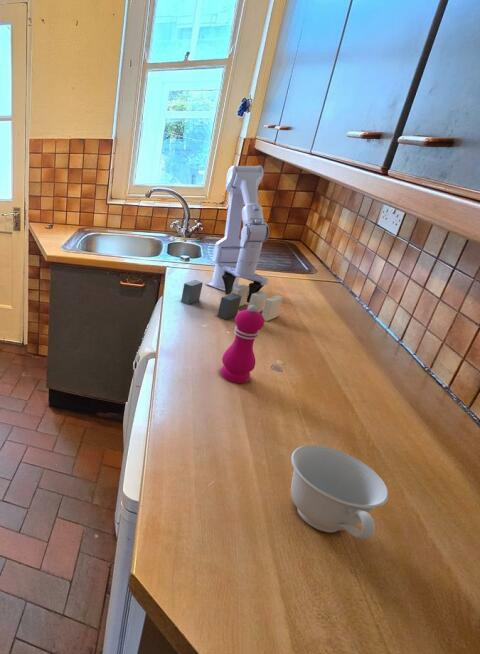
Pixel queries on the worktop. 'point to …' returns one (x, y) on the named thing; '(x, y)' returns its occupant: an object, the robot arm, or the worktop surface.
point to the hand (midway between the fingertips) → (238, 297)
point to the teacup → (335, 490)
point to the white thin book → (241, 293)
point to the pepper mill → (242, 346)
